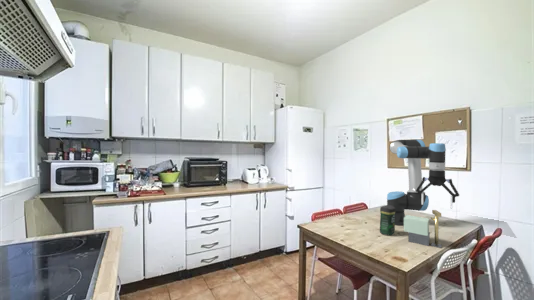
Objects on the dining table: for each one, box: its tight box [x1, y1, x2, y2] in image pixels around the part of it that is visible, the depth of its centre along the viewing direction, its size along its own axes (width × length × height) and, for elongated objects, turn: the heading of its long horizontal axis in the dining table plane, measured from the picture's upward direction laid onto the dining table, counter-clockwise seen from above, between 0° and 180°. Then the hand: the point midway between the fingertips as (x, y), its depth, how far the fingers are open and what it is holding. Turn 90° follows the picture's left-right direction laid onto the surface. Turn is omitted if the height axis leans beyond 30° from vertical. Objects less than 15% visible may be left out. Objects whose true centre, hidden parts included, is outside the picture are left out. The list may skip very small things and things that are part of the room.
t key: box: [430, 209, 442, 245], centre depth 134 cm, size 8×2×19 cm, turn 163°
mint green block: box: [403, 214, 430, 236], centre depth 139 cm, size 12×9×8 cm
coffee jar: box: [379, 204, 396, 236], centre depth 152 cm, size 10×8×19 cm
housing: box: [407, 231, 442, 249], centre depth 136 cm, size 16×7×6 cm, turn 50°
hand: (436, 206), depth 133 cm, fingers open, 13 cm apart
